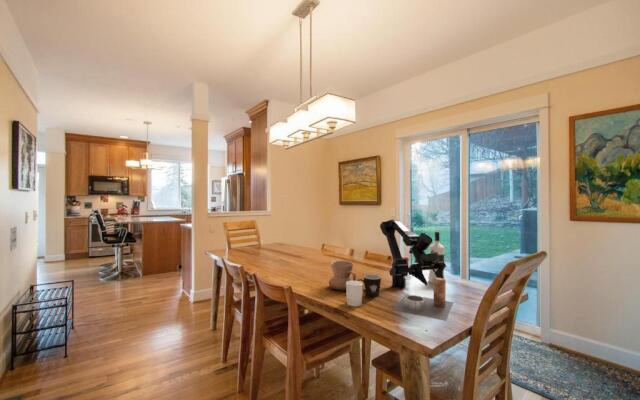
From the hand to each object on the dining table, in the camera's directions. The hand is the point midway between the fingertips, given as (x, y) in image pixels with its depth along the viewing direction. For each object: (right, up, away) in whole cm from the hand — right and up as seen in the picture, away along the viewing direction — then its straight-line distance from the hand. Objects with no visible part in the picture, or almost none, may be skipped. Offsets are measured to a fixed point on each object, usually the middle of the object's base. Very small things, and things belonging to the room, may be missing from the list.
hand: (435, 283), depth 136 cm
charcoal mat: (-6, -10, -3) cm, 12 cm away
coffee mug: (-28, -10, +13) cm, 33 cm away
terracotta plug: (+1, -9, -3) cm, 10 cm away
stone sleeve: (-11, -9, -5) cm, 15 cm away
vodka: (+16, -10, +38) cm, 42 cm away
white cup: (-37, -10, +2) cm, 39 cm away
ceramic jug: (-41, -10, +25) cm, 49 cm away
